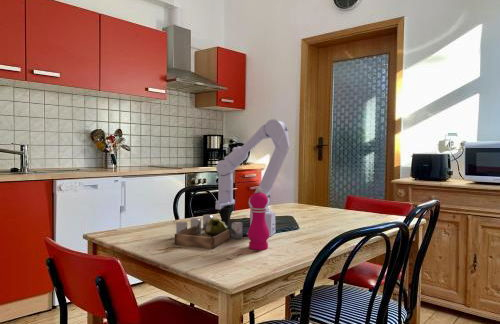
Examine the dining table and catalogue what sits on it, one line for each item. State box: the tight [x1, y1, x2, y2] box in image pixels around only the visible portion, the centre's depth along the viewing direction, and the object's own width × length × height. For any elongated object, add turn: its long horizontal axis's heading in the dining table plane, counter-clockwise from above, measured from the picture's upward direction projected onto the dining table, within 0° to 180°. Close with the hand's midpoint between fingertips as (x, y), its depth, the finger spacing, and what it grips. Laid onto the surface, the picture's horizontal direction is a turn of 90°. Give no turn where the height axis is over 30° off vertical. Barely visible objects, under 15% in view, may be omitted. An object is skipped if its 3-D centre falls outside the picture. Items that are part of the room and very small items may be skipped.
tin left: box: [231, 221, 244, 240], centre depth 140 cm, size 4×4×6 cm
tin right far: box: [175, 221, 188, 234], centre depth 140 cm, size 4×4×6 cm
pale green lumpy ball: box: [204, 217, 229, 236], centre depth 143 cm, size 9×9×8 cm
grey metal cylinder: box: [202, 214, 214, 230], centre depth 155 cm, size 4×4×6 cm
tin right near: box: [190, 217, 202, 235], centre depth 147 cm, size 4×4×6 cm
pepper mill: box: [247, 187, 270, 251], centre depth 127 cm, size 7×7×20 cm
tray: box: [174, 226, 231, 250], centre depth 134 cm, size 15×14×4 cm
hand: (225, 224), depth 151 cm, fingers closed
